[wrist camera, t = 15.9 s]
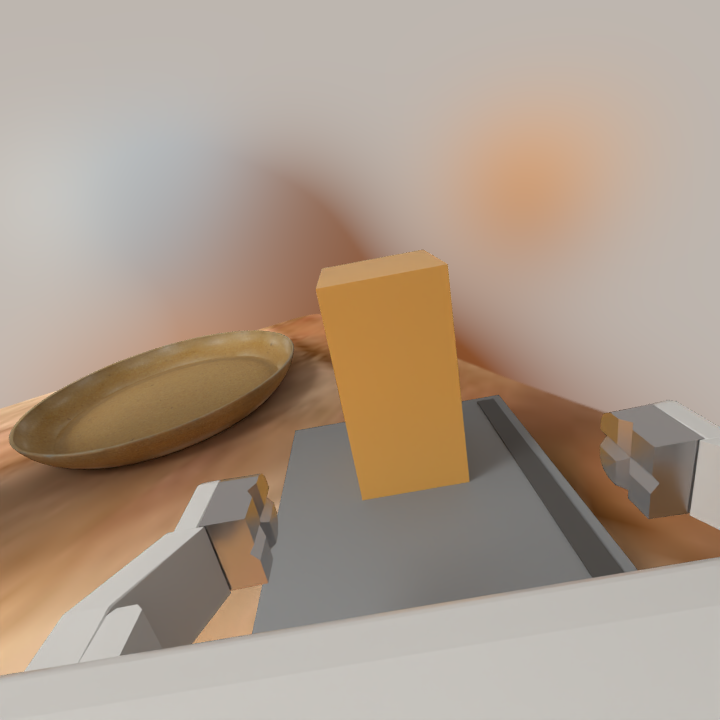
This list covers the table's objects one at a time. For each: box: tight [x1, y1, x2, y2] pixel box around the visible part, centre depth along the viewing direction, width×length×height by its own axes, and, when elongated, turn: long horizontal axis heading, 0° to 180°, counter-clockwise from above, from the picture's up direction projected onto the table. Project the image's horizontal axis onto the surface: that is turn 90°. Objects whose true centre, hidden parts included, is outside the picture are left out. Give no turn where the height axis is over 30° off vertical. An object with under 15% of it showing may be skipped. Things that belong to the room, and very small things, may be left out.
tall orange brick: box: [316, 250, 470, 500], centre depth 20 cm, size 5×5×10 cm
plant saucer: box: [9, 330, 294, 469], centre depth 39 cm, size 24×24×3 cm
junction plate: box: [252, 395, 637, 634], centre depth 16 cm, size 19×13×8 cm
